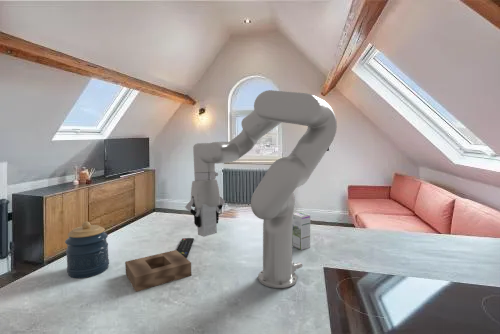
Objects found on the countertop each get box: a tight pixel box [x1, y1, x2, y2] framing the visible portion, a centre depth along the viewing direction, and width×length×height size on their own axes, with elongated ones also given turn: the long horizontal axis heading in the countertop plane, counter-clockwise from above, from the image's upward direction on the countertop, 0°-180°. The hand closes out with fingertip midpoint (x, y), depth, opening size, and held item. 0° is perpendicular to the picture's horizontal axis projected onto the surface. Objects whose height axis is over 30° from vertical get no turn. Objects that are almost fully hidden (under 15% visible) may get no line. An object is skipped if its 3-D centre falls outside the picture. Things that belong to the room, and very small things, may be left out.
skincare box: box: [197, 204, 218, 238], centre depth 105 cm, size 6×4×12 cm
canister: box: [64, 221, 110, 279], centre depth 99 cm, size 13×13×18 cm
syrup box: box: [292, 211, 311, 251], centre depth 121 cm, size 6×6×14 cm
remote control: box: [176, 237, 195, 260], centre depth 119 cm, size 5×24×1 cm, turn 4°
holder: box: [124, 249, 192, 292], centre depth 96 cm, size 18×14×4 cm
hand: (206, 224), depth 105 cm, fingers closed on skincare box, 6 cm apart
